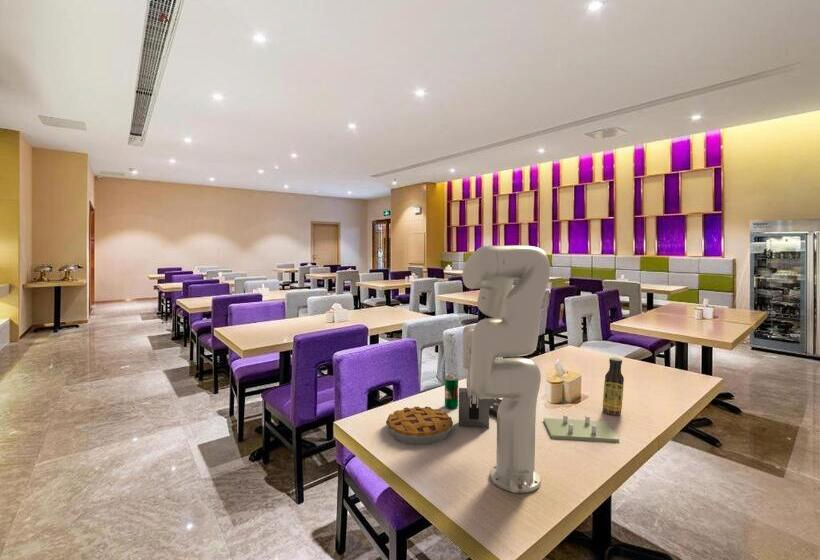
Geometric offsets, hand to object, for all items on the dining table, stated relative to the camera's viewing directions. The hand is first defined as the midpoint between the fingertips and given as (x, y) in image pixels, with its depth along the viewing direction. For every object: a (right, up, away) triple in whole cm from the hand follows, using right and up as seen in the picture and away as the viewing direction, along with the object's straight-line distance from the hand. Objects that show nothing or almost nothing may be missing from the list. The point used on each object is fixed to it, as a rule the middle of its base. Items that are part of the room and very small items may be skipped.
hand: (473, 415), depth 136 cm
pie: (-18, -4, -4) cm, 19 cm away
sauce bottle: (+52, -3, +10) cm, 53 cm away
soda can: (-6, -2, +16) cm, 17 cm away
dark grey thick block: (0, -3, 0) cm, 3 cm away
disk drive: (+11, -3, +12) cm, 17 cm away
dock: (+34, -4, -4) cm, 34 cm away
